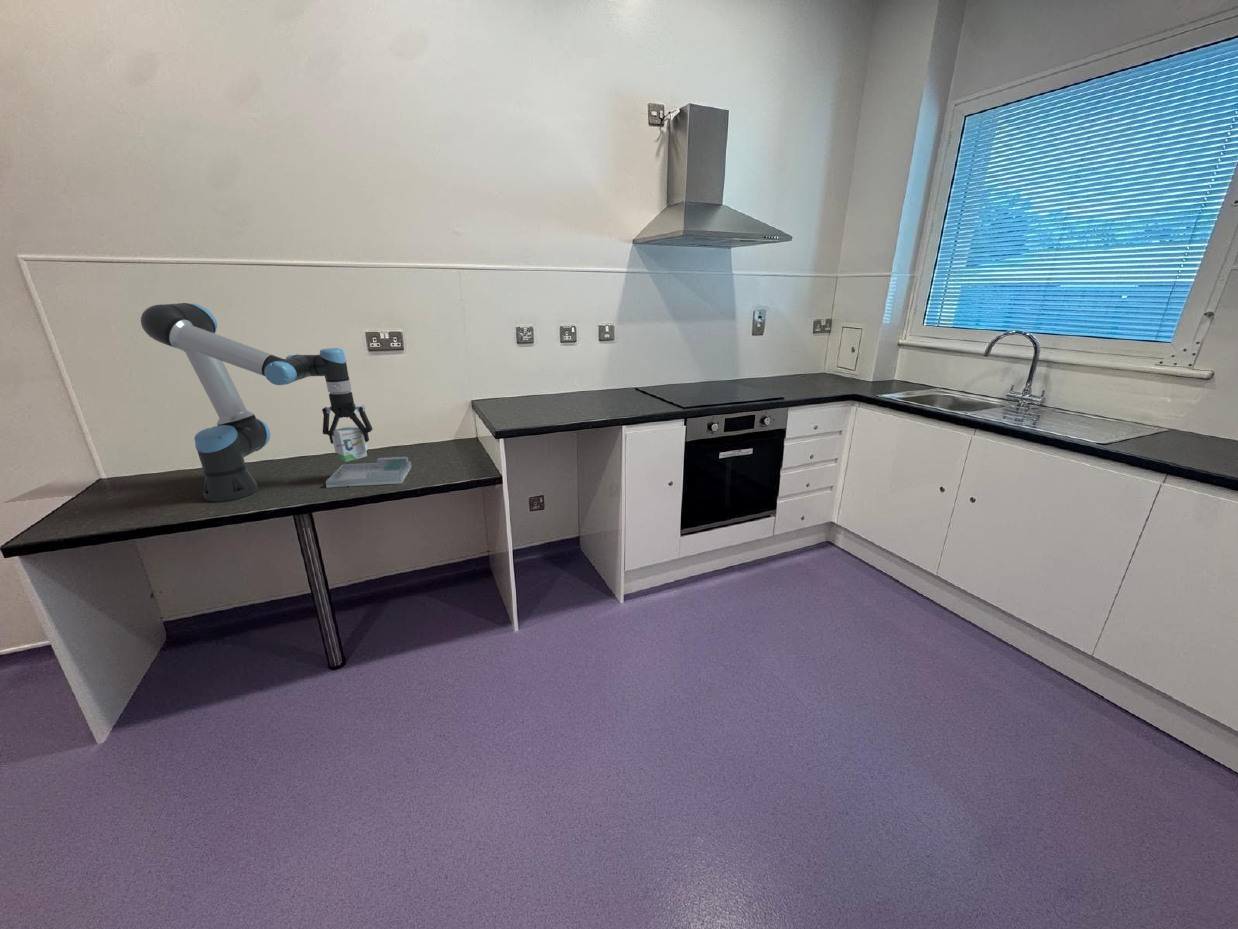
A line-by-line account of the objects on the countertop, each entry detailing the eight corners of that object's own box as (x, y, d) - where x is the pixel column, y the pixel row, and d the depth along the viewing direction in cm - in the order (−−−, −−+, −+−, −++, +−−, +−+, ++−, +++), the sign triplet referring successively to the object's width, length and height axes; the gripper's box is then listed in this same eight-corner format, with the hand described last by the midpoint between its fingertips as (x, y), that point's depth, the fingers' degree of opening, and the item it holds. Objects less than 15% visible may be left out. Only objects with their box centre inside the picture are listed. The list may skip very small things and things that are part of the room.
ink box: (361, 453, 192) (355, 424, 188) (367, 456, 189) (362, 427, 185) (338, 459, 186) (332, 429, 182) (345, 462, 183) (338, 432, 179)
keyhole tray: (326, 487, 181) (324, 476, 179) (343, 470, 197) (341, 459, 196) (401, 483, 185) (400, 472, 184) (411, 466, 202) (410, 456, 200)
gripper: (302, 395, 173) (316, 455, 181) (369, 393, 177) (380, 452, 185) (311, 391, 180) (324, 449, 188) (375, 388, 184) (385, 445, 192)
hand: (351, 450), depth 186 cm, fingers closed on ink box, 9 cm apart
